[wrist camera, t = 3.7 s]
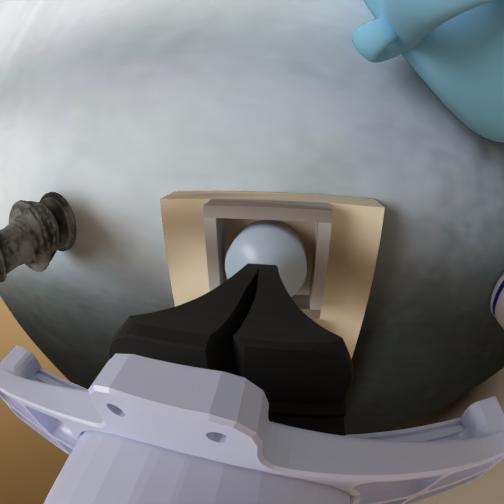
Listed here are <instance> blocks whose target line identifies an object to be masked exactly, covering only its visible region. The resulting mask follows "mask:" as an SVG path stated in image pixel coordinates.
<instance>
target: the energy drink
mask: <svg viewBox="0 0 504 504" xmlns="http://www.w3.org/2000/svg"><path fill="white" fill-rule="evenodd" d="M490 309H491V313H492V314H493V316H494V317H495V318H496V320H497V321H498V322H499V324H500V325H501V326H502V328H503V329H504V273H503V274H502V275H501V276H500V278H499V280H498V281H497V283H496V285H495V287H494V289H493V292H492V296H491V303H490Z"/></svg>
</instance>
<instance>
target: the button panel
mask: <svg viewBox="0 0 504 504" xmlns="http://www.w3.org/2000/svg"><path fill="white" fill-rule="evenodd" d="M160 204H161V213H162V222H163V231H164V239H165V247H166V254H167V261H168V267H169V274H170V280H171V286H172V292H173V298H174V303H175V307H176V306H179V305H181V304H184V303H186V302H189V301H191V300H194V299H196V298H198V297H200V296H202V295H204V294H206V293H208V292H210V291H211V290H213V289H215V288H216V287H218V286H219V285H221V284H222V283H224V282H225V281H227V280H228V278H227V276H226V272H225V258H226V255H227V252H228V250H229V248H230V246H231V244H232V243H233V241H234V239H235V237H236V236H237V234H238V233H239V232H240V231H241V230H242V229H243V228H244V227H245V226H247V225H249V224H250V223H253V222H256V221H259V220H275V221H279V222H282V223H284V224H286V225H288V226H290V227H291V228H293V229H294V230H295V231H296V232H297V233H298V235H299V236H300V237H301V239H302V241H303V243H304V246H305V251H306V262H307V273H306V278H305V281H304V283H303V285H302V287H301V288H300V289H299V291H298V292H297V293H296V294H294V295H293V296H292V297H291V298H292V299H293V301H294V302H295V303H296V305H297V306H298V307H299V308H300V309H301V310H302V311H303V312H304V313H305V314H306V315H307V316H308V317H309V318H310V319H312V320H313V321H314V322H316V323H317V324H319V325H320V326H322V327H323V328H325V329H327V330H328V331H330V332H332V333H334V334H336V335H338V336H340V337H342V338H343V340H344V342H345V344H346V347H347V349H348V351H349V354H350V357H351V359H352V356H353V353H354V349H355V346H356V343H357V339H358V336H359V332H360V329H361V325H362V321H363V318H364V314H365V310H366V306H367V302H368V298H369V294H370V289H371V285H372V280H373V275H374V271H375V266H376V260H377V255H378V250H379V244H380V238H381V232H382V225H383V218H384V211H385V207H383V206H382V205H381V204H380V203H379V202H378V201H376V200H375V199H370V198H359V197H347V196H333V195H318V194H301V193H279V192H243V191H184V192H173V193H171V194H169V195H167V196H165V197H163V198H162V199H160Z"/></svg>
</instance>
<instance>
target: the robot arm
mask: <svg viewBox="0 0 504 504" xmlns="http://www.w3.org/2000/svg"><path fill="white" fill-rule="evenodd" d="M109 355H110V358H111V359H110V360H109V361H108V362H107V364H106V365H105V366H104V368H103V369H102V371H101V372H100V374H99V375H98V376H97V378H96V379H95V381H94V382H93V384H92V385H91V386H90V388H89V389H86V388H83V387H81V386H79V385H76V384H74V383H72V382H70V381H68V380H65V379H63V378H61V377H59V376H57V375H55V374H53V373H51V372H49V371H47V370H45V369H43V368H41V366H40V363H39V362H38V360H37V359H36V357H35V356H34V354H33V353H31V352H30V351H29V350H27V349H25V348H23V347H21V346H19V345H17V346H16V347H15V348H14V349H13V350H12V351H11V352H10V353H9V354H8V355H7V356H6V357H5V358H4V359H3V360H2V361H1V362H0V396H1V398H2V399H3V400H4V401H5V403H6V404H7V405H8V406H9V407H10V409H11V410H12V411H13V412H14V413H15V415H16V416H18V417H19V418H20V419H21V420H22V421H24V422H25V423H26V424H28V425H29V426H30V427H32V428H33V429H34V430H35V431H37V432H38V433H39V434H41V435H42V436H43V437H45V438H46V439H47V440H49V441H50V442H51V443H53V444H54V445H56V446H57V447H59V448H60V449H62V450H63V451H64V452H66V453H68V454H69V455H70V456H69V458H68V459H67V461H66V463H65V465H64V467H63V468H62V470H61V472H60V474H59V476H58V477H57V479H56V481H55V483H54V485H53V486H52V488H51V490H50V492H49V494H48V496H47V498H46V500H45V502H44V504H413V503H416V502H419V501H422V500H425V499H428V498H431V497H434V496H437V495H439V494H442V493H445V492H447V491H450V490H452V489H455V488H457V487H460V486H462V485H465V484H467V483H469V482H471V481H474V480H476V479H477V478H479V477H480V476H481V475H483V474H484V473H485V472H487V471H488V470H489V469H490V468H492V467H493V466H495V465H496V464H497V463H498V462H499V461H501V460H502V459H503V458H504V414H503V411H502V409H501V407H500V404H499V402H498V400H497V398H496V397H491V398H487V399H484V400H481V401H477V402H475V403H473V404H472V405H470V406H469V407H468V408H467V409H466V410H465V411H464V413H463V414H462V416H461V417H460V418H457V419H453V420H449V421H445V422H440V423H435V424H431V425H426V426H421V427H415V428H409V429H402V430H396V431H388V432H379V433H368V434H354V435H345V430H344V416H345V413H346V408H345V401H346V398H347V396H348V394H349V391H350V389H351V386H352V383H353V379H354V368H353V363H352V360H351V357H350V354H349V351H348V349H347V347H346V344H345V342H344V340H343V338H342V337H340V336H338V335H336V334H334V333H332V332H330V331H328V330H327V329H325V328H323V327H322V326H320V325H319V324H317V323H316V322H314V321H313V320H312V319H310V318H309V317H308V316H307V315H306V314H305V313H304V312H303V311H302V310H301V309H300V308H299V307H298V306H297V305H296V303H295V302H294V301H293V299H292V298H291V296H290V295H289V293H288V292H287V290H286V288H285V286H284V284H283V282H282V280H281V278H280V275H279V272H278V267H277V266H276V265H268V264H250V263H248V264H246V265H245V266H244V267H243V268H242V269H240V270H239V271H238V272H237V273H236V274H234V275H233V276H232V277H230V278H229V279H228V280H227V281H225V282H224V283H222V284H221V285H219V286H218V287H216V288H215V289H213V290H211V291H210V292H208V293H206V294H204V295H202V296H200V297H198V298H196V299H194V300H191V301H189V302H186V303H184V304H181V305H179V306H176V307H173V308H169V309H166V310H162V311H158V312H153V313H147V314H141V315H135V316H130V317H129V318H128V319H127V320H126V321H125V323H124V324H123V325H122V326H121V328H120V329H119V330H118V331H117V333H116V334H115V335H114V337H113V338H112V339H111V341H110V343H109Z"/></svg>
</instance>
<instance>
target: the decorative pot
mask: <svg viewBox="0 0 504 504" xmlns="http://www.w3.org/2000/svg"><path fill="white" fill-rule="evenodd" d="M364 2H365V3H366V5H367V7H368V8H369V10H370V11H371V12H372V14H373V15H374V17H375V20H372V21H370V22H367V23H365V24H363V25H361V26H360V27H358V28H357V29H355V30H354V31H353V33H352V40H353V43H354V45H355V47H356V49H357V50H358V52H359V53H360V54H361V55H362V56H363V57H364V58H366V59H367V60H369V61H371V62H381V61H385V60H388V59H391V58H393V57H396V56H398V55H400V54H402V55H403V57H404V58H405V59H406V60H407V62H408V63H409V64H410V65H411V66H412V68H413V69H414V70H415V71H416V73H417V74H418V75H419V76H420V77H421V78H422V80H423V81H424V82H425V83H426V84H427V85H428V87H429V88H430V89H431V90H432V91H433V92H434V93H435V95H436V96H437V97H438V98H439V99H440V100H441V101H442V103H443V104H444V105H445V106H446V107H447V108H448V109H449V110H450V111H451V112H452V113H453V114H454V115H455V116H456V117H457V118H458V119H459V120H460V121H461V122H462V123H464V124H465V125H466V126H467V127H468V128H469V129H471V130H473V131H474V132H476V133H478V134H479V135H481V136H483V137H484V138H487V139H489V140H492V141H495V142H504V0H364Z"/></svg>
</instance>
